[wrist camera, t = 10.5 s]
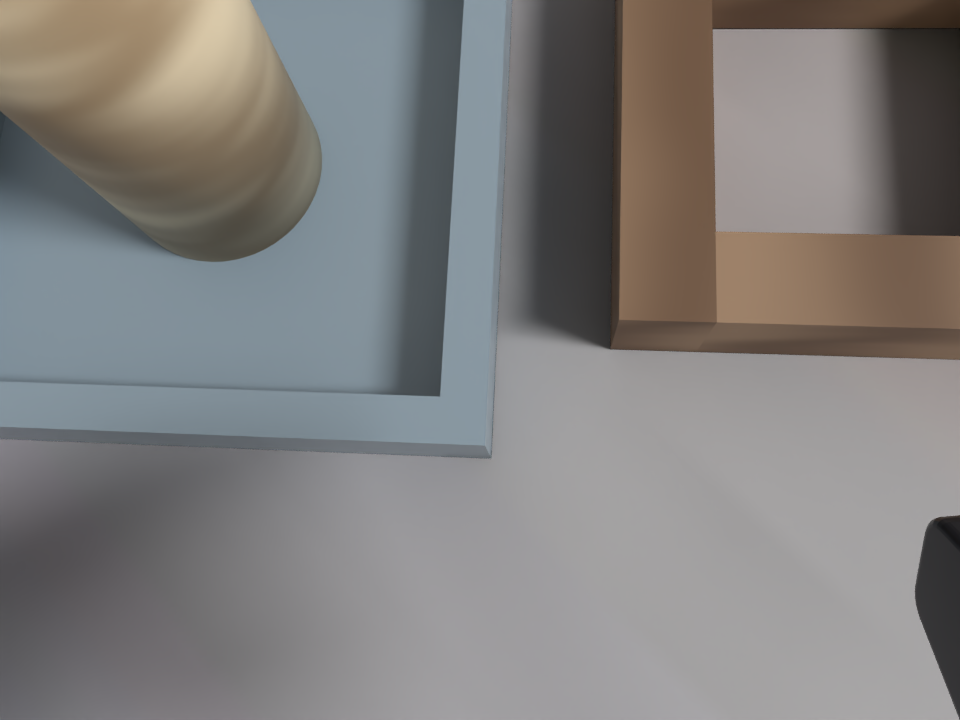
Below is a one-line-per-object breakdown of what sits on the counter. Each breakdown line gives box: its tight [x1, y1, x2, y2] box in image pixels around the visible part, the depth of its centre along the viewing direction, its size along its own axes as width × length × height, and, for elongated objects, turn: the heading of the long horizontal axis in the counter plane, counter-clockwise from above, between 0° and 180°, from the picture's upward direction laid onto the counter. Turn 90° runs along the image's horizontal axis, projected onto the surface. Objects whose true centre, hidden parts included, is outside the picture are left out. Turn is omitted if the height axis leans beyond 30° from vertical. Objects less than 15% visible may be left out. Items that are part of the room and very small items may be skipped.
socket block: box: [610, 0, 960, 359], centre depth 20 cm, size 11×11×2 cm
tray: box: [0, 0, 512, 458], centre depth 21 cm, size 14×14×2 cm
